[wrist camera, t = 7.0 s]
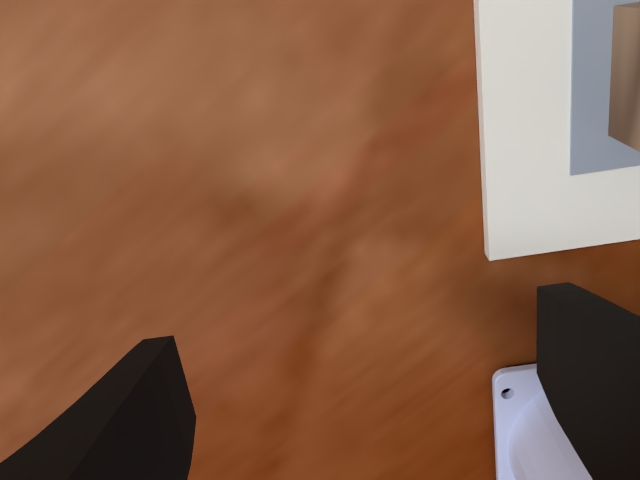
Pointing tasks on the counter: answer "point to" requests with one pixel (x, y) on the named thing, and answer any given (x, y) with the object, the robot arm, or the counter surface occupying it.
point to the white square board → (550, 129)
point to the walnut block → (625, 76)
